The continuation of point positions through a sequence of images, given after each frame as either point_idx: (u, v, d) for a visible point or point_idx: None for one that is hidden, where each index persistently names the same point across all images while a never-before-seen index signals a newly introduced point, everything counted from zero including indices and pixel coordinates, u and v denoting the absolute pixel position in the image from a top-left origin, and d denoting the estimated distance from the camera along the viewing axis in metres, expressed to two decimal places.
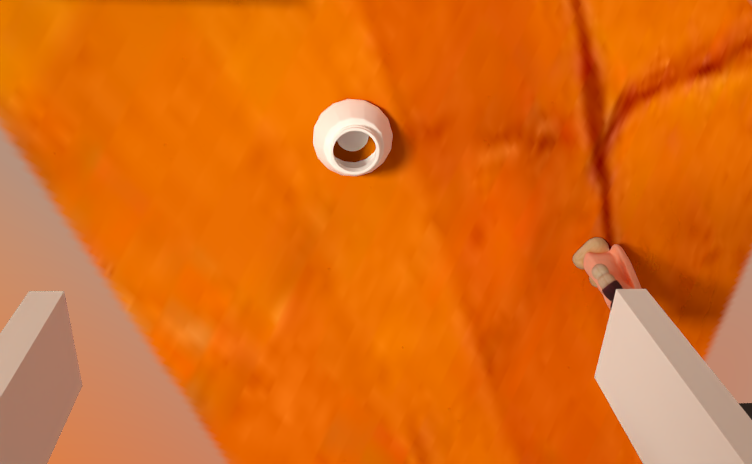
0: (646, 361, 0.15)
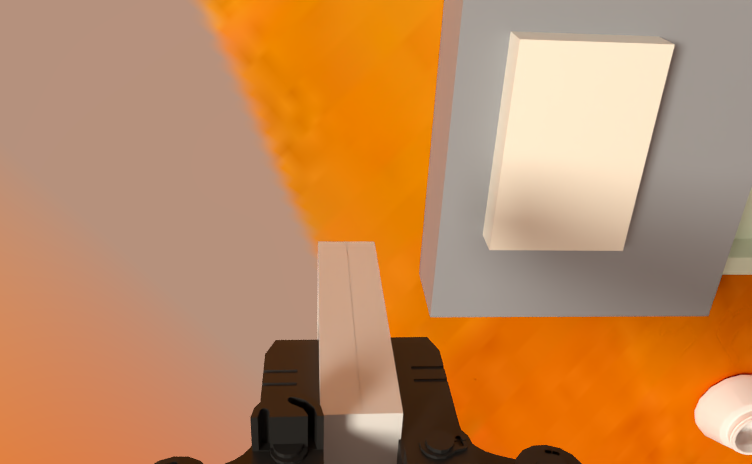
0: None
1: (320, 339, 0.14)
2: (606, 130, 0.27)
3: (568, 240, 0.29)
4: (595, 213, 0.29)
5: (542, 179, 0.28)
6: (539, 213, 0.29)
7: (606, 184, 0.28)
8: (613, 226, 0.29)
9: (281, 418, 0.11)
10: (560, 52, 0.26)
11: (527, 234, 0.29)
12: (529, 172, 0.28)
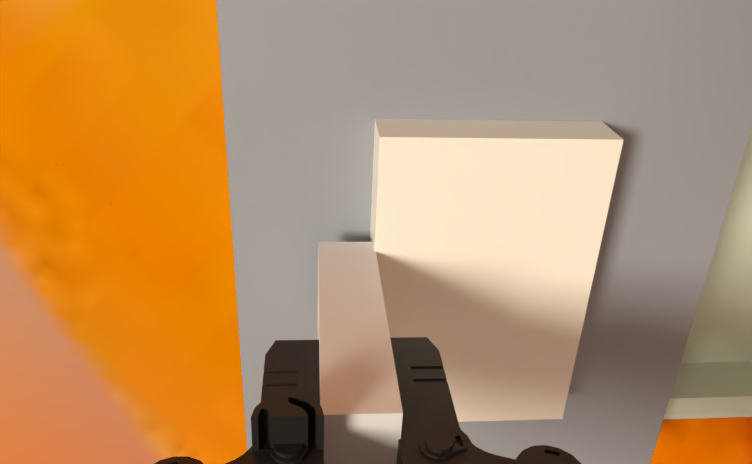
0: None
1: (320, 339, 0.14)
2: (526, 262, 0.18)
3: (481, 408, 0.20)
4: (518, 373, 0.20)
5: (435, 331, 0.19)
6: None
7: (532, 334, 0.19)
8: (546, 388, 0.20)
9: (281, 418, 0.11)
10: (445, 154, 0.16)
11: None
12: (414, 323, 0.19)
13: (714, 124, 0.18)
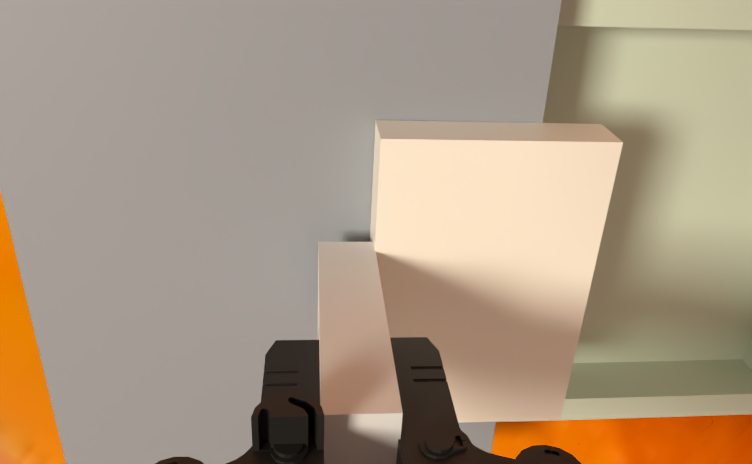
0: None
1: (320, 339, 0.14)
2: (525, 264, 0.18)
3: (480, 409, 0.20)
4: (517, 374, 0.20)
5: (434, 332, 0.19)
6: None
7: (531, 335, 0.19)
8: (544, 389, 0.20)
9: (281, 418, 0.11)
10: (446, 156, 0.16)
11: None
12: (413, 323, 0.19)
13: (502, 119, 0.18)
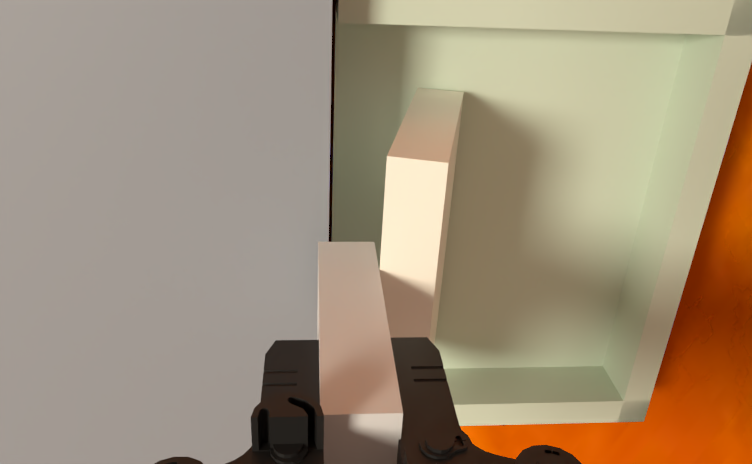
0: None
1: (320, 339, 0.14)
2: None
3: None
4: (436, 319, 0.22)
5: None
6: None
7: None
8: None
9: (281, 418, 0.11)
10: (452, 155, 0.17)
11: None
12: None
13: (287, 118, 0.17)
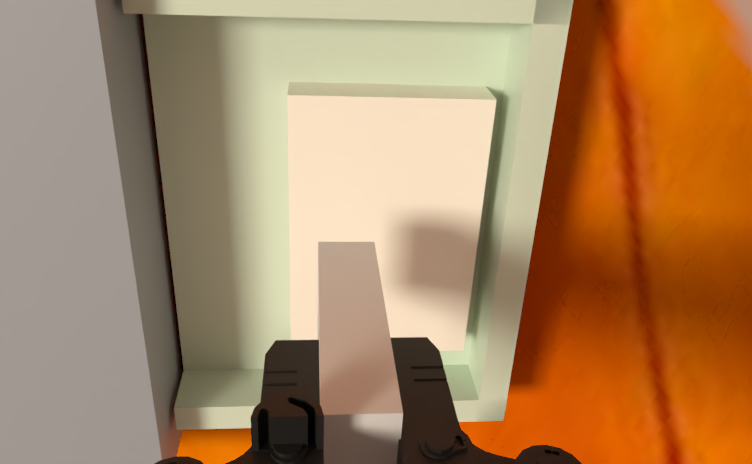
0: None
1: (320, 339, 0.14)
2: None
3: None
4: None
5: None
6: None
7: None
8: None
9: (281, 418, 0.11)
10: None
11: None
12: None
13: (65, 112, 0.17)
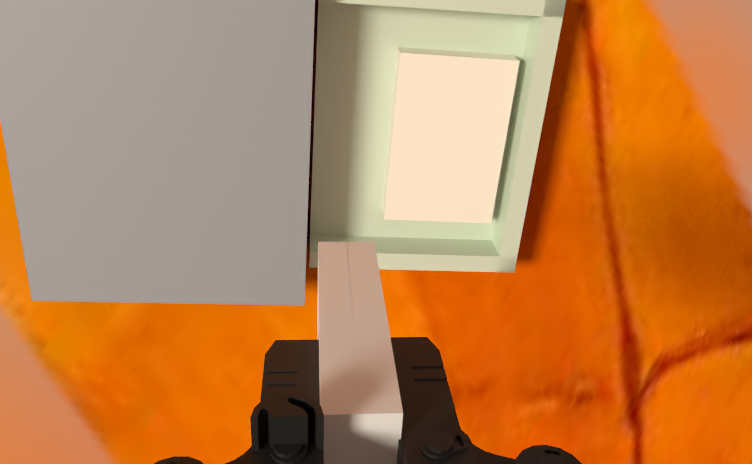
0: None
1: (320, 339, 0.14)
2: None
3: None
4: None
5: None
6: None
7: None
8: None
9: (281, 418, 0.11)
10: None
11: None
12: None
13: (288, 53, 0.31)
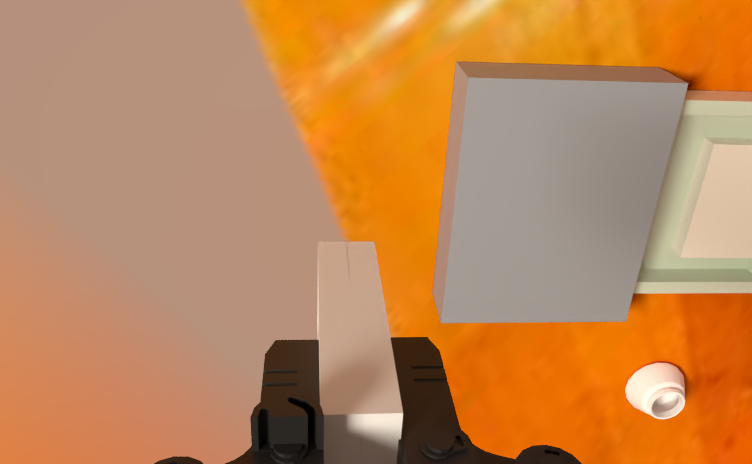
0: None
1: (320, 339, 0.14)
2: None
3: None
4: None
5: None
6: None
7: None
8: None
9: (281, 418, 0.11)
10: None
11: None
12: None
13: (654, 152, 0.44)
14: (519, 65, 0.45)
